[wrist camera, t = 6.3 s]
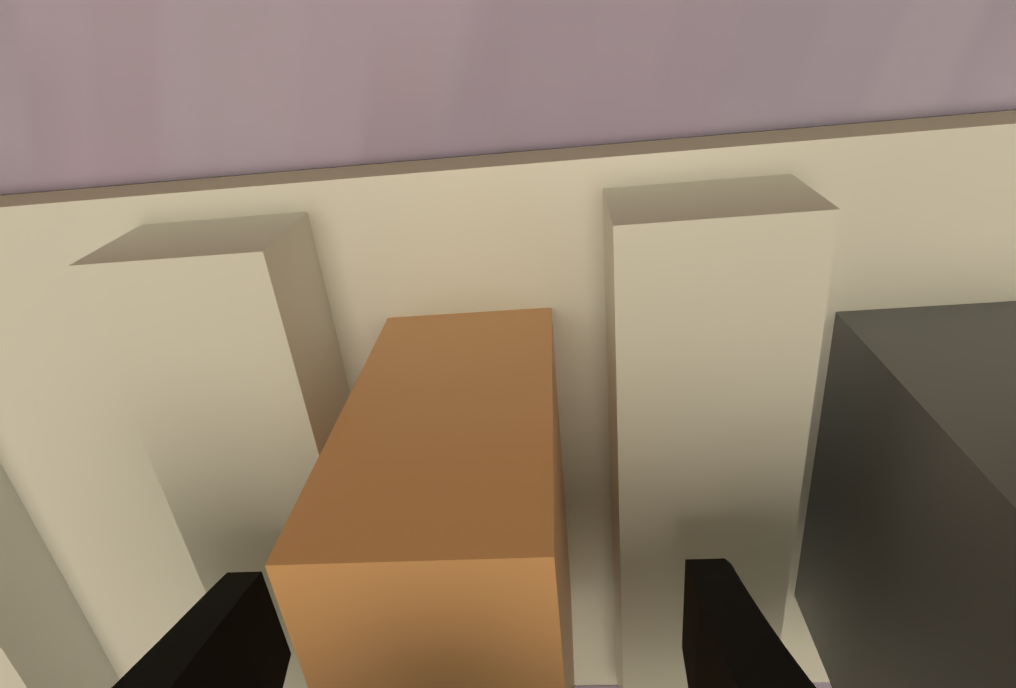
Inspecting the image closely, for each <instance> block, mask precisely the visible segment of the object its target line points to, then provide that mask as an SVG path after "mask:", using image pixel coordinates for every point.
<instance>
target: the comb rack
mask: <svg viewBox="0 0 1016 688" xmlns="http://www.w3.org/2000/svg"><path fill="white" fill-rule="evenodd" d="M1006 301H1016V110H1010V111H998V112H987V113H975V114H963V115H951V116H939V117H927V118H915V119H903V120H892V121H880V122H868V123H856V124H844V125H832V126H820V127H809V128H797V129H785V130H773V131H761V132H749V133H737V134H725V135H714V136H702V137H690V138H678V139H666V140H654V141H642V142H631V143H619V144H607V145H595V146H583V147H571V148H559V149H547V150H536V151H524V152H512V153H500V154H488V155H476V156H464V157H452V158H441V159H429V160H417V161H405V162H393V163H381V164H369V165H358V166H346V167H334V168H322V169H310V170H298V171H286V172H274V173H263V174H251V175H239V176H227V177H215V178H203V179H191V180H180V181H168V182H156V183H144V184H132V185H120V186H108V187H96V188H85V189H73V190H61V191H49V192H37V193H25V194H13V195H1V196H0V688H111V687H112V686H114V685H115V684H116V683H117V682H118V681H119V680H120V679H121V678H122V677H123V676H124V675H125V674H126V673H127V672H128V671H129V670H130V669H131V668H132V667H133V666H134V665H135V664H136V663H137V662H138V661H139V660H140V659H141V658H142V657H143V656H144V655H145V654H146V653H147V652H148V651H149V650H150V649H151V648H152V647H153V646H154V645H155V644H156V643H157V642H158V641H159V640H160V639H161V638H162V637H163V636H164V635H165V634H166V633H167V632H168V631H169V630H170V629H171V628H172V627H173V626H174V625H175V624H176V623H177V622H178V621H179V620H180V619H181V618H182V617H183V616H184V615H185V614H186V613H187V612H188V611H189V610H190V609H191V608H192V607H193V606H194V605H195V604H196V603H197V602H198V601H199V600H200V599H201V598H202V597H203V596H204V595H205V594H206V593H207V592H208V591H209V590H210V589H211V588H212V587H213V586H214V585H215V584H216V583H217V582H218V581H219V580H220V579H221V578H222V577H223V576H224V575H225V574H226V573H227V572H260V571H262V574H263V577H264V579H265V582H266V585H267V588H268V591H269V593H270V596H271V599H272V602H273V604H274V607H275V610H276V613H277V616H278V618H279V621H280V624H281V627H282V629H283V632H284V635H285V638H286V641H287V643H288V646H289V649H290V652H291V657H290V661H289V665H288V669H287V673H286V677H285V681H284V685H283V688H308V686H307V684H306V681H305V678H304V675H303V672H302V669H301V667H300V664H299V661H298V658H297V655H296V653H295V650H294V647H293V644H292V641H291V639H290V636H289V633H288V630H287V627H286V624H285V622H284V619H283V616H282V613H281V610H280V608H279V605H278V602H277V599H276V596H275V594H274V591H273V588H272V585H271V582H270V579H269V577H268V574H267V571H266V568H265V564H266V562H267V560H268V558H269V556H270V554H271V552H272V550H273V548H274V546H275V544H276V542H277V540H278V538H279V536H280V534H281V532H282V530H283V528H284V526H285V524H286V521H287V519H288V517H289V515H290V513H291V511H292V509H293V507H294V505H295V503H296V501H297V499H298V497H299V495H300V493H301V491H302V489H303V487H304V485H305V483H306V481H307V479H308V477H309V475H310V473H311V471H312V469H313V467H314V465H315V463H316V461H317V459H318V457H319V455H320V453H321V451H322V449H323V447H324V445H325V443H326V441H327V439H328V437H329V435H330V433H331V431H332V429H333V427H334V425H335V423H336V421H337V419H338V417H339V415H340V413H341V411H342V409H343V407H344V405H345V403H346V401H347V399H348V397H349V395H350V393H351V391H352V389H353V387H354V385H355V383H356V381H357V379H358V377H359V375H360V373H361V371H362V369H363V367H364V365H365V363H366V361H367V359H368V357H369V355H370V353H371V351H372V349H373V347H374V345H375V343H376V341H377V338H378V336H379V334H380V332H381V330H382V328H383V326H384V324H385V322H386V320H387V318H392V317H408V316H424V315H440V314H456V313H472V312H487V311H503V310H519V309H535V308H551V310H552V324H553V339H554V353H555V367H556V382H557V396H558V411H559V425H560V439H561V454H562V468H563V483H564V497H565V512H566V526H567V540H568V555H569V569H570V584H571V606H572V632H573V658H574V683H575V685H617V686H618V688H688V683H687V677H686V670H685V664H684V658H683V651H682V630H683V605H684V580H685V559H718V558H725V559H726V560H727V561H729V562H730V563H731V564H732V566H733V567H734V569H735V571H736V573H737V574H738V576H739V578H740V579H741V581H742V583H743V584H744V586H745V587H746V589H747V591H748V592H749V594H750V595H751V597H752V598H753V600H754V602H755V603H756V605H757V606H758V608H759V609H760V611H761V612H762V614H763V615H764V617H765V618H766V619H767V621H768V622H769V624H770V625H771V627H772V628H773V630H774V631H775V633H776V634H777V636H778V637H779V638H780V640H781V641H782V643H783V644H784V645H785V647H786V648H787V649H788V651H789V652H790V654H791V655H792V656H793V658H794V659H795V660H796V662H797V663H798V664H799V666H800V667H801V668H802V670H803V671H804V672H805V674H806V675H807V676H808V678H809V679H810V680H811V682H830V681H829V678H828V676H827V674H826V671H825V669H824V666H823V664H822V661H821V659H820V657H819V654H818V652H817V649H816V647H815V644H814V642H813V640H812V637H811V635H810V632H809V630H808V627H807V625H806V623H805V620H804V618H803V615H802V613H801V610H800V608H799V606H798V603H797V601H796V598H795V596H794V594H795V587H796V580H797V573H798V567H799V560H800V553H801V546H802V539H803V532H804V526H805V519H806V512H807V505H808V498H809V491H810V485H811V478H812V471H813V464H814V457H815V450H816V444H817V437H818V430H819V423H820V416H821V409H822V403H823V396H824V389H825V382H826V375H827V368H828V361H829V355H830V348H831V341H832V334H833V327H834V320H835V314H836V312H839V311H856V310H872V309H889V308H906V307H922V306H939V305H956V304H972V303H989V302H1006Z"/></svg>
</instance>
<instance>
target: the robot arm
mask: <svg viewBox="0 0 1016 688" xmlns="http://www.w3.org/2000/svg"><path fill="white" fill-rule="evenodd" d="M682 651H683V658H684V664H685V670H686V677H687V683H688V688H816V687H815V686H814V684H813V683H812V682H811V680H810V679H809V678H808V676H807V675H806V674H805V672H804V671H803V670H802V668H801V667H800V666H799V664H798V663H797V662H796V660H795V659H794V658H793V656H792V655H791V654H790V652H789V651H788V649H787V648H786V647H785V645H784V644H783V643H782V641H781V640H780V638H779V637H778V636H777V634H776V633H775V631H774V630H773V628H772V627H771V625H770V624H769V622H768V621H767V619H766V618H765V617H764V615H763V614H762V612H761V611H760V609H759V608H758V606H757V605H756V603H755V602H754V600H753V598H752V597H751V595H750V594H749V592H748V591H747V589H746V587H745V586H744V584H743V583H742V581H741V579H740V578H739V576H738V574H737V573H736V571H735V569H734V567H733V566H732V564H731V563H730V562H729V561H727V560H726V559H725V558H718V559H685V580H684V605H683V630H682ZM290 657H291V652H290V649H289V646H288V643H287V641H286V638H285V635H284V632H283V629H282V627H281V624H280V621H279V618H278V616H277V613H276V610H275V607H274V604H273V602H272V599H271V596H270V593H269V591H268V588H267V585H266V582H265V579H264V577H263V574H262V571H260V572H227V573H226V574H225V575H224V576H223V577H222V578H221V579H220V580H219V581H218V582H217V583H216V584H215V585H214V586H213V587H212V588H211V589H210V590H209V591H208V592H207V593H206V594H205V595H204V596H203V597H202V598H201V599H200V600H199V601H198V602H197V603H196V604H195V605H194V606H193V607H192V608H191V609H190V610H189V611H188V612H187V613H186V614H185V615H184V616H183V617H182V618H181V619H180V620H179V621H178V622H177V623H176V624H175V625H174V626H173V627H172V628H171V629H170V630H169V631H168V632H167V633H166V634H165V635H164V636H163V637H162V638H161V639H160V640H159V641H158V642H157V643H156V644H155V645H154V646H153V647H152V648H151V649H150V650H149V651H148V652H147V653H146V654H145V655H144V656H143V657H142V658H141V659H140V660H139V661H138V662H137V663H136V664H135V665H134V666H133V667H132V668H131V669H130V670H129V671H128V672H127V673H126V674H125V675H124V676H123V677H122V678H121V679H120V680H119V681H118V682H117V683H116V684H115V685H114V686H112V687H111V688H283V685H284V681H285V677H286V673H287V669H288V665H289V661H290Z"/></svg>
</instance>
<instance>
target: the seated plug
mask: <svg viewBox="0 0 1016 688" xmlns="http://www.w3.org/2000/svg"><path fill="white" fill-rule="evenodd" d="M794 596H795V598H796V601H797V603H798V606H799V608H800V610H801V613H802V615H803V618H804V620H805V623H806V625H807V627H808V630H809V632H810V635H811V637H812V640H813V642H814V644H815V647H816V649H817V652H818V654H819V657H820V659H821V661H822V664H823V666H824V669H825V671H826V674H827V676H828V678H829V681H830V683H831V686H832V688H1016V301H1006V302H989V303H972V304H956V305H939V306H922V307H906V308H889V309H872V310H856V311H839V312H836V314H835V320H834V327H833V334H832V341H831V348H830V355H829V361H828V368H827V375H826V382H825V389H824V396H823V403H822V409H821V416H820V423H819V430H818V437H817V444H816V450H815V457H814V464H813V471H812V478H811V485H810V491H809V498H808V505H807V512H806V519H805V526H804V532H803V539H802V546H801V553H800V560H799V567H798V573H797V580H796V587H795V594H794Z"/></svg>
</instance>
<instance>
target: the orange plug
mask: <svg viewBox="0 0 1016 688" xmlns="http://www.w3.org/2000/svg"><path fill="white" fill-rule="evenodd" d="M265 568H266V571H267V574H268V577H269V579H270V582H271V585H272V588H273V591H274V594H275V596H276V599H277V602H278V605H279V608H280V610H281V613H282V616H283V619H284V622H285V624H286V627H287V630H288V633H289V636H290V639H291V641H292V644H293V647H294V650H295V653H296V655H297V658H298V661H299V664H300V667H301V669H302V672H303V675H304V678H305V681H306V684H307V686H308V688H575V683H574V658H573V632H572V606H571V584H570V569H569V555H568V540H567V526H566V512H565V497H564V483H563V468H562V454H561V439H560V425H559V411H558V396H557V382H556V367H555V353H554V339H553V324H552V310H551V308H535V309H519V310H503V311H487V312H472V313H456V314H440V315H424V316H408V317H392V318H387V320H386V322H385V324H384V326H383V328H382V330H381V332H380V334H379V336H378V338H377V341H376V343H375V345H374V347H373V349H372V351H371V353H370V355H369V357H368V359H367V361H366V363H365V365H364V367H363V369H362V371H361V373H360V375H359V377H358V379H357V381H356V383H355V385H354V387H353V389H352V391H351V393H350V395H349V397H348V399H347V401H346V403H345V405H344V407H343V409H342V411H341V413H340V415H339V417H338V419H337V421H336V423H335V425H334V427H333V429H332V431H331V433H330V435H329V437H328V439H327V441H326V443H325V445H324V447H323V449H322V451H321V453H320V455H319V457H318V459H317V461H316V463H315V465H314V467H313V469H312V471H311V473H310V475H309V477H308V479H307V481H306V483H305V485H304V487H303V489H302V491H301V493H300V495H299V497H298V499H297V501H296V503H295V505H294V507H293V509H292V511H291V513H290V515H289V517H288V519H287V521H286V524H285V526H284V528H283V530H282V532H281V534H280V536H279V538H278V540H277V542H276V544H275V546H274V548H273V550H272V552H271V554H270V556H269V558H268V560H267V562H266V564H265Z"/></svg>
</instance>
